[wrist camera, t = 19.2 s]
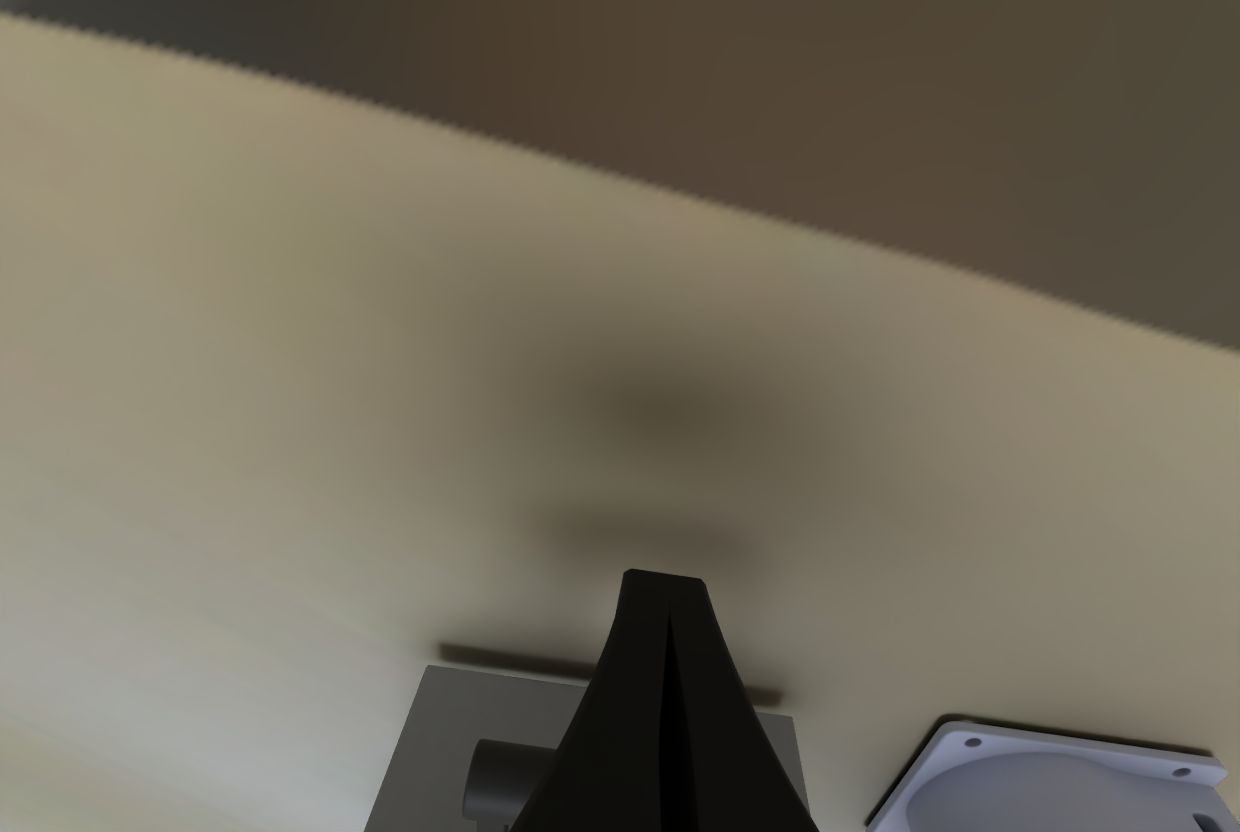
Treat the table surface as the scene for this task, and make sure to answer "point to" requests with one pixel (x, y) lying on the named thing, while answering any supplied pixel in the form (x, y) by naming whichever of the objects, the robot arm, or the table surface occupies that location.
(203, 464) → the table surface
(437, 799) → the drawer
